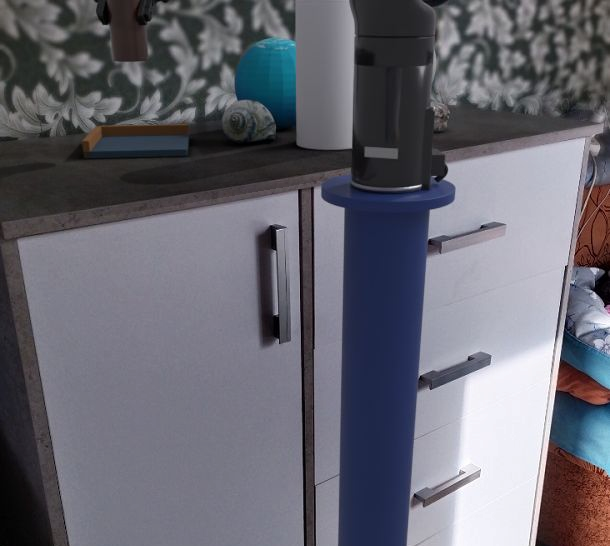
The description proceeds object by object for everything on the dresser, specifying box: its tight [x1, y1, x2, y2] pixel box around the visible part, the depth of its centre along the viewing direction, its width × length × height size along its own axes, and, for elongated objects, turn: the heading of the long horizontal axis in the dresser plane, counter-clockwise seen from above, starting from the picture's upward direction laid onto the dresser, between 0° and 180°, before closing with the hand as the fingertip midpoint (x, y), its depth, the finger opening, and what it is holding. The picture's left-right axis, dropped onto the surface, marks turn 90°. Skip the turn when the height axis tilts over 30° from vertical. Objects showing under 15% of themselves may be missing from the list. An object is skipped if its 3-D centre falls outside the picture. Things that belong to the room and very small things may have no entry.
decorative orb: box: [233, 37, 296, 130], centre depth 134 cm, size 15×15×15 cm
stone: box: [431, 101, 451, 133], centre depth 133 cm, size 13×6×10 cm
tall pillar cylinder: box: [294, 0, 356, 151], centre depth 117 cm, size 11×11×25 cm
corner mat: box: [81, 123, 190, 159], centre depth 119 cm, size 15×15×2 cm
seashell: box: [221, 100, 277, 145], centre depth 123 cm, size 6×8×12 cm
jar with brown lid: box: [106, 0, 150, 63], centre depth 110 cm, size 5×5×12 cm
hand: (122, 20), depth 109 cm, fingers closed on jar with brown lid, 5 cm apart
